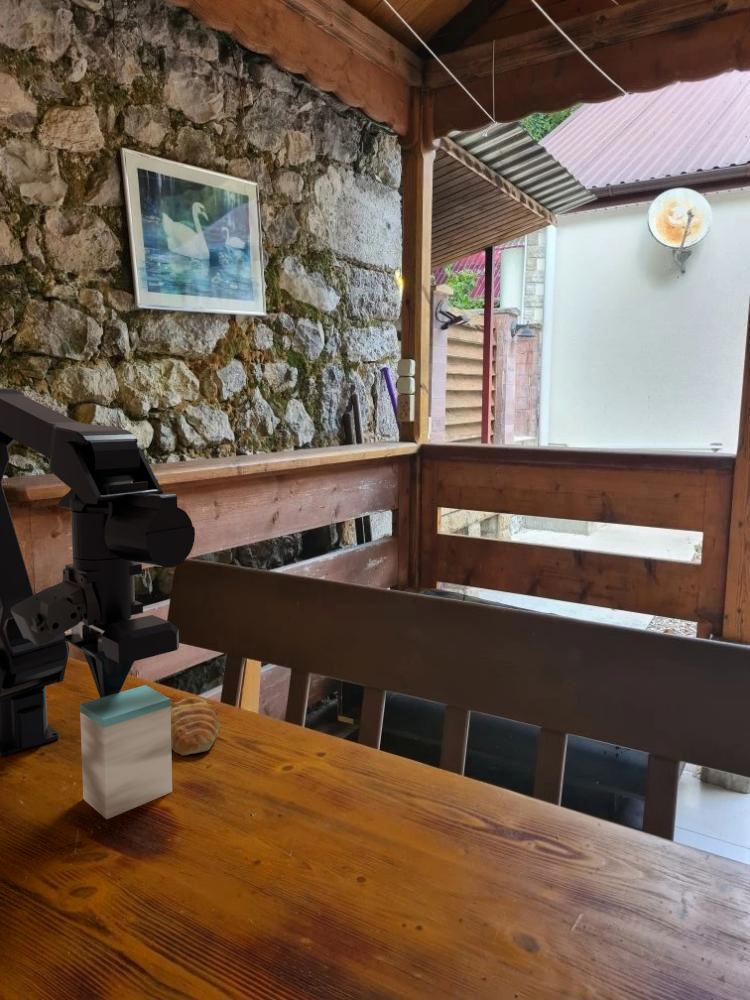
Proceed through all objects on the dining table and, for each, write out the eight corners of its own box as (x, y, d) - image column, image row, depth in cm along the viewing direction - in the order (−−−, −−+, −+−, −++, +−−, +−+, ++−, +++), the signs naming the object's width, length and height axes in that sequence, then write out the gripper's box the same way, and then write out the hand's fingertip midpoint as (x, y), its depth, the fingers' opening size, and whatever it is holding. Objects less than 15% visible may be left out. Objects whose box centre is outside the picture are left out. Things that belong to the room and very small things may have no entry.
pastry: (226, 754, 82) (226, 723, 81) (165, 764, 79) (164, 731, 79) (215, 720, 90) (214, 691, 90) (159, 728, 88) (158, 698, 88)
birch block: (83, 799, 72) (79, 703, 70) (147, 774, 77) (145, 684, 75) (106, 819, 68) (103, 719, 67) (172, 791, 73) (170, 698, 72)
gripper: (-16, 551, 72) (-8, 699, 74) (62, 584, 60) (70, 760, 62) (91, 538, 80) (96, 671, 82) (180, 564, 68) (183, 721, 70)
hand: (108, 702), depth 74 cm, fingers closed
